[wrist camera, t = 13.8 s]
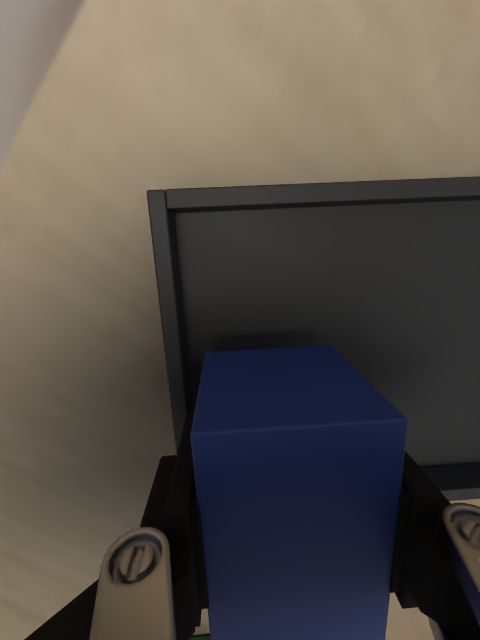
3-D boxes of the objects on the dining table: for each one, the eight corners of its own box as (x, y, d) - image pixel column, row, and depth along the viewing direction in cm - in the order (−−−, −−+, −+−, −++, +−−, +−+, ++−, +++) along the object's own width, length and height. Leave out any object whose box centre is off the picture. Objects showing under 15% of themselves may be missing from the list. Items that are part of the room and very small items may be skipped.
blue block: (217, 507, 12) (212, 663, 8) (205, 351, 10) (189, 433, 6) (327, 499, 12) (385, 647, 8) (332, 343, 11) (410, 418, 6)
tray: (189, 487, 15) (184, 522, 13) (158, 198, 11) (145, 189, 10) (510, 463, 15) (549, 493, 14) (570, 181, 12) (632, 170, 10)
